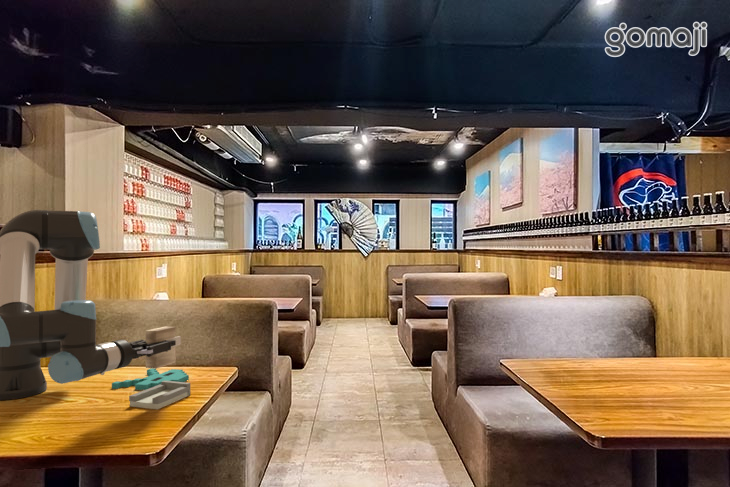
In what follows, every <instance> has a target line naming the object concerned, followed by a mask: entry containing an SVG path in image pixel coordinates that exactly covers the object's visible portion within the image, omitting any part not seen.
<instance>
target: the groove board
mask: <svg viewBox="0 0 730 487" xmlns="http://www.w3.org/2000/svg"><path fill="white" fill-rule="evenodd" d="M189 396H191V382H187V381H186V382H175V381H162V382H161V384H160V385H157V386H155V387H152V388H149V389H146V390H140V391H138V392H136V393H133V394H130V395H129V396H128V398H129V399H128V402H129V407H134V408H135V407H136V408H143V409H151V410H160V409H161V408H164V407H166V406H169V405H171V404H173V403H176V402H178V401H180V400H183V399H185V398H186V397H189Z"/></svg>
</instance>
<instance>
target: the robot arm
mask: <svg viewBox="0 0 730 487" xmlns="http://www.w3.org/2000/svg"><path fill="white" fill-rule="evenodd" d="M99 234H100V233H99V226H98V219H97V216H96V214H95V213H93V212H91V211H82V210H77V211H76V210H75V211H74V210H53V209H50V210H49V209H48V210H47V209H31V210H26V211H25V212H22V213H19V214H18V215H15V216H14V217H13V218H10V219H9V221H7V222H6V223H5V224H4V225H3V226H2V228H1V229H0V401H7V400H9V399H10V400H16V399H17V400H18V399H23V398H28V397H32V396H35V395H39V394H41V393H44V392H45V391H47V389H48V385H47V384H48V382H47V380H46V377H45V375H44V373H43V370H42V368H41V359H46V358H50V359H49V363H48V365H47V371H48V374H49V376H50V378H51V380H53V381H54V382H56V383H58V384H61V385H62V384H68V383H72V382H79V381H81V380H83V379H87V378H91V377H93V376H97V375H101V376H104V375H105V373H106V372H111V371H113V370H114V371H115V370H119V369H121V368H125V367H127V366H129V365H130V363H131V362H132V361H133V360H134V359H139V358H140V357H144V356H145V357H146V355H147V357H150V356H152V355H154V354H158V353H161V352H168V350H171V347H175V346H176V347H178V346H181V345H182V344H181V343H182V336H180V335H178V336H177V335H176V337H173V338H169V339H165V340H164V341H161V342H155V343H150V344H147V343H146V339H139V340H134V341H130V342H128V341H127V340H125V339H118V340H113V341H107V342H102V343H97V312H96V303H95V302H94V301H92V300H90V299H86V298H87V283H88V282H87V280H88V266H89V265H88V261H89V259H90V258H91V257H93V255H94V253H95V251H97V250H100V248H101V246H100V245H101V244H100V243H101V242H100V235H99ZM39 250H49V254H50V256H51V257H53V258H54V259H55V272H54V279H55V280H54V309H50V310H49V309H48V310H39V311H37V310H36V306H35V305H36V301H35V300H36V298H35V296H36V255H37V253H38V252H39ZM35 310H36V311H35Z"/></svg>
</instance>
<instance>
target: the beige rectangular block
mask: <svg viewBox="0 0 730 487" xmlns="http://www.w3.org/2000/svg"><path fill="white" fill-rule="evenodd" d="M176 328H177V327H176V326H162V327H157V328H152V329H147V330H145V340H146V343H147V344H150V343H155V342H161V341H164V340H165V339H169V338H173V337H177V335H176V333H177V332H176V331H177V330H176ZM176 347H177V346H175V347H171V350H168V352H161V353H158V354H154V355H152V356H150V357H147V355H145V368H146V369H151V368H153V369H156V370H158V369H159V368H163V367H166V366H169V365H173V364H175V363H176V362H177V359H176V358H177V357H176V356H177V354H176V353H177V352H176Z"/></svg>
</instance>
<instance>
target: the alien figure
mask: <svg viewBox="0 0 730 487" xmlns="http://www.w3.org/2000/svg"><path fill="white" fill-rule="evenodd" d="M146 375H148V376H145V377H144V378H139V377H137V378H134V379H125V380H123V381H117V380H116V381H114V382H112V383H111V389H114V390H116V389H117V390H118V389H120V388H130V387H132V386H134V390H135V391H136V390H137V391H138V390H139V391H144V390H146V389H149V388H152V387H155V386H157V385H160V384H161V382H162V381H175V382H186V383H187V380H188V381H189V379H190V377H189V376H190V375H189V374H187V372H185V371H184V370H183V369H175V368H174V369H173V368H171V369H169V370H167V371H164V372H162V373H160V372H159V370H158V369H156V368H147V370H146Z"/></svg>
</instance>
